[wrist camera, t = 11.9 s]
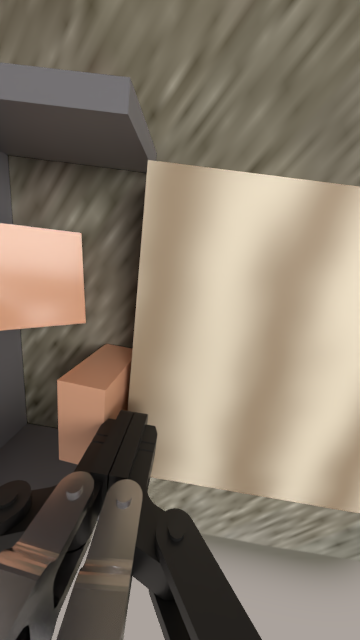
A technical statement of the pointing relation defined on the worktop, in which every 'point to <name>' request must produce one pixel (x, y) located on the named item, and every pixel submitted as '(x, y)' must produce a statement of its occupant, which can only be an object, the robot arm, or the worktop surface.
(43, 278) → the terracotta tile
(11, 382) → the box
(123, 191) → the worktop surface
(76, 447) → the terracotta tile
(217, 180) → the birch board
